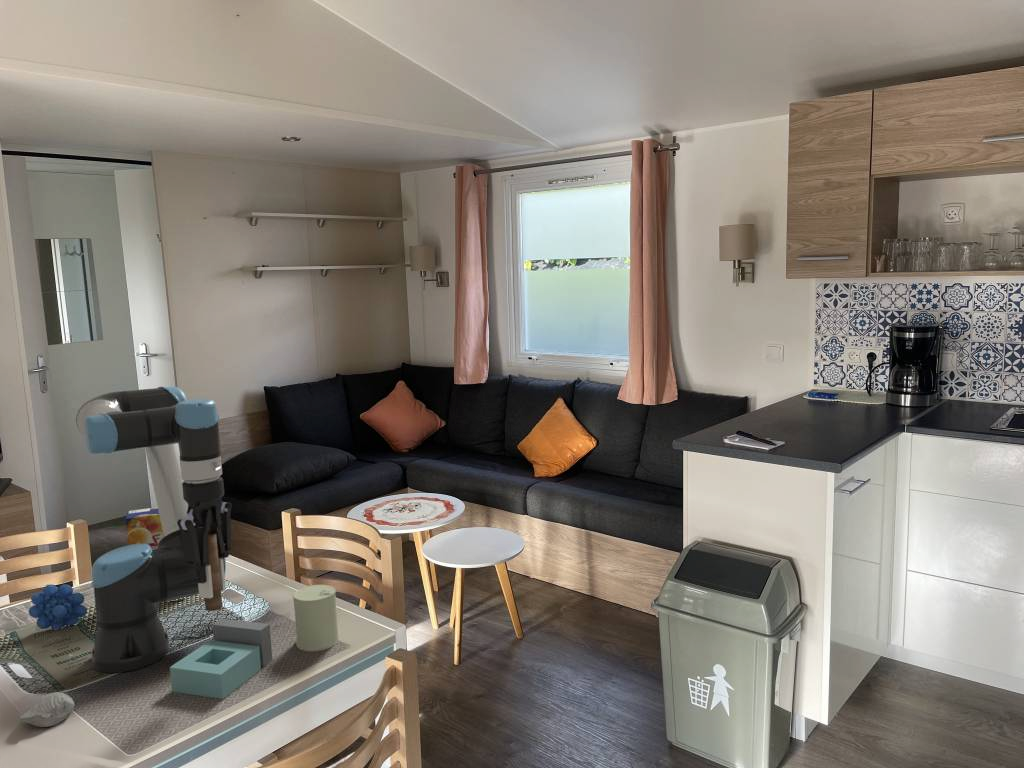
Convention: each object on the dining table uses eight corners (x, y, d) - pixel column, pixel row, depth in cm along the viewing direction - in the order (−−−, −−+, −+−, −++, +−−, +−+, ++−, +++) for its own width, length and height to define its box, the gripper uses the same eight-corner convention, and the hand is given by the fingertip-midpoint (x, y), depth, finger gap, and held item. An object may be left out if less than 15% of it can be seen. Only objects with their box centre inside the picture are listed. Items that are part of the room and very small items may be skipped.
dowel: (202, 610, 155) (195, 537, 153) (212, 603, 158) (206, 532, 156) (215, 611, 154) (209, 538, 152) (226, 605, 157) (219, 533, 155)
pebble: (50, 735, 140) (47, 709, 139) (12, 731, 141) (8, 705, 141) (85, 709, 148) (82, 684, 147) (49, 706, 150) (46, 681, 149)
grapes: (33, 646, 176) (27, 595, 174) (30, 635, 181) (24, 586, 179) (91, 631, 182) (86, 582, 181) (87, 621, 188) (81, 574, 186)
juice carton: (187, 593, 203) (179, 504, 200) (187, 604, 196) (178, 512, 193) (137, 602, 199) (127, 511, 196) (134, 613, 192) (125, 518, 189)
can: (328, 653, 167) (324, 599, 166) (288, 650, 169) (284, 597, 168) (345, 634, 176) (342, 583, 175) (308, 631, 178) (304, 581, 176)
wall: (215, 660, 166) (212, 624, 165) (224, 653, 168) (221, 618, 167) (263, 666, 162) (260, 630, 161) (272, 660, 165) (269, 624, 164)
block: (171, 691, 153) (169, 667, 153) (212, 662, 165) (210, 640, 164) (223, 699, 150) (221, 674, 149) (260, 669, 161) (259, 646, 160)
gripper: (189, 490, 144) (201, 611, 147) (244, 469, 159) (253, 579, 162) (156, 488, 146) (168, 608, 149) (213, 468, 161) (223, 577, 164)
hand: (212, 593), depth 156 cm, fingers closed on dowel, 3 cm apart
